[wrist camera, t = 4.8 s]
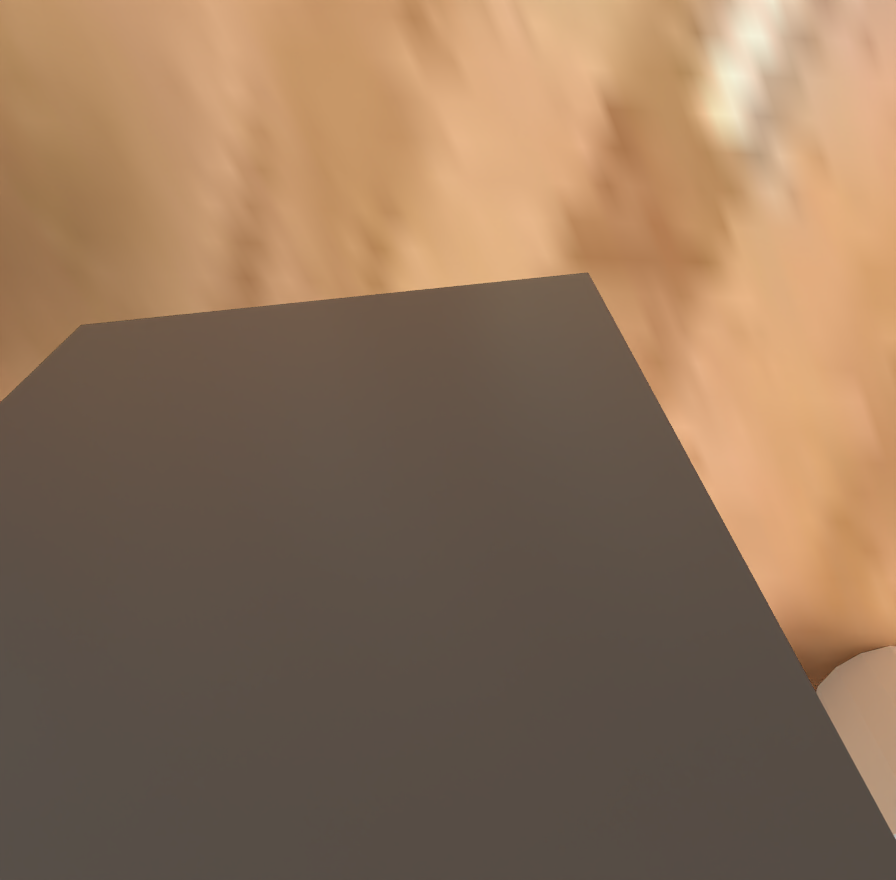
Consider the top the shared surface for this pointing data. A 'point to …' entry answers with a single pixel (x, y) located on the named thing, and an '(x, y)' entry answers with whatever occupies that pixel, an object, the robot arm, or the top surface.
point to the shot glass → (867, 720)
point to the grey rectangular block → (391, 612)
